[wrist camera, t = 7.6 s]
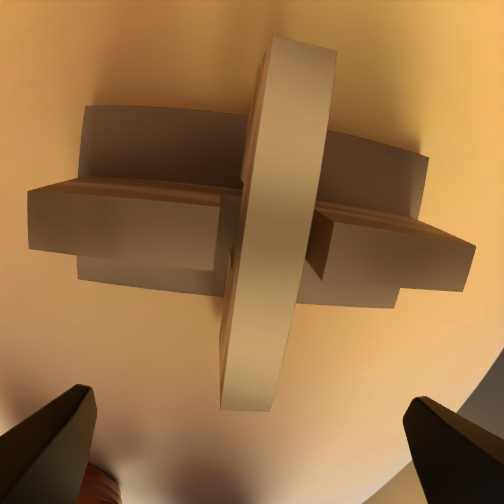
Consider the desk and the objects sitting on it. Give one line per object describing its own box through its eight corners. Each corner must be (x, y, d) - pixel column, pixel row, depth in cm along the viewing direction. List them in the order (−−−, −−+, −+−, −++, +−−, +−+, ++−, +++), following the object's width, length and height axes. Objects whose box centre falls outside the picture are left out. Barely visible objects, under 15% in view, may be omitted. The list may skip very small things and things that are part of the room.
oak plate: (255, 340, 16) (269, 411, 11) (219, 337, 15) (220, 409, 11) (297, 83, 12) (336, 51, 7) (254, 76, 12) (273, 36, 7)
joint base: (387, 302, 17) (444, 360, 11) (84, 273, 15) (28, 331, 9) (420, 156, 14) (500, 167, 9) (91, 107, 12) (24, 89, 7)
